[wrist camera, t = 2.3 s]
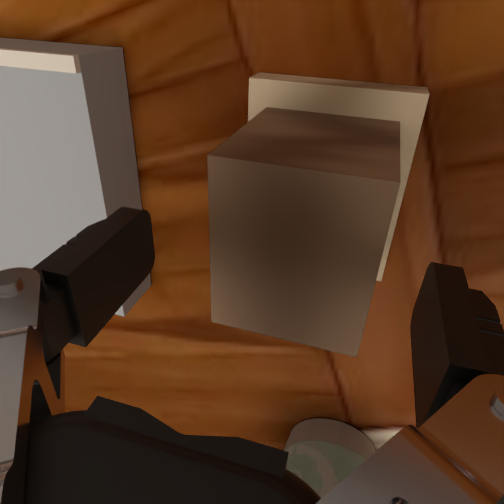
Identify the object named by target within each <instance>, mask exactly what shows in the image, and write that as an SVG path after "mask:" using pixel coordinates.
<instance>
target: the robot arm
mask: <svg viewBox="0 0 504 504" xmlns="http://www.w3.org/2000/svg"><path fill="white" fill-rule="evenodd" d="M154 259H155V252H154V243H153V234H152V225H151V217H150V214H149V213H148V211H146V210H140V209H135V208H129V207H120V208H119V209H118V210H116V211H115V212H114V213H113V214H111V215H110V216H109V217H107V218H106V219H103V220H101V221H99V222H96V223H94V224H91V225H89V226H87V227H86V228H84V229H83V230H82V231H80V232H79V233H78V234H77V235H76V237H73V238H71V239H70V240H69V241H67V242H66V245H65V244H63V245H62V246H61V247H59V248H58V249H57V250H56V251H54V252H53V253H52V254H50V255H49V256H48V257H46V258H45V259H44V260H42V261H41V262H40V263H39V264H37V265H36V266H35V267H33V268H32V269H31V268H25V267H16V268H9V269H5V270H1V271H0V504H504V330H503V327H502V324H500V318H499V315H498V313H497V310H496V307H495V305H494V304H493V303H492V302H491V301H490V300H489V298H488V297H487V296H486V295H485V294H484V293H483V292H482V291H479V290H474V289H469V288H468V284H467V280H466V277H465V273H464V270H463V268H462V267H456V266H450V265H445V264H439V263H434V262H431V263H430V264H429V266H428V268H427V271H426V274H425V277H424V280H423V283H422V286H421V289H420V291H419V294H418V297H417V300H416V303H415V306H414V309H413V314H412V319H411V347H412V363H413V379H414V395H415V411H416V427H417V429H416V428H415V427H414V426H412V425H408V426H406V427H405V428H403V429H402V430H400V431H399V432H398V433H397V434H396V435H395V436H393V437H392V438H391V439H390V440H389V441H388V442H386V443H385V444H384V445H383V446H382V447H381V448H379V449H378V450H377V451H376V452H375V453H374V454H373V455H371V456H370V457H369V458H368V459H367V460H366V461H364V462H363V463H362V464H361V465H360V466H359V467H358V468H356V469H355V470H354V471H353V472H352V473H351V474H349V475H348V476H347V477H346V478H345V479H344V480H342V481H341V482H340V483H339V484H338V485H337V486H336V487H334V488H333V489H332V490H331V491H330V492H329V493H327V494H326V495H325V496H324V497H323V498H322V499H321V497H320V496H319V495H318V494H317V493H316V492H315V491H314V490H313V489H312V488H311V487H310V486H309V485H308V484H307V483H306V482H304V481H303V480H302V479H301V478H299V477H298V476H297V475H295V474H294V473H292V472H290V471H289V470H287V469H286V467H287V461H288V454H289V452H287V451H283V450H280V449H276V448H273V447H270V446H266V445H263V444H259V443H256V442H253V441H249V440H246V439H242V438H239V437H221V436H197V435H184V434H180V433H179V432H177V431H175V430H174V429H172V428H170V427H169V426H167V425H166V424H164V423H163V422H161V421H159V420H158V419H156V418H155V417H153V416H152V415H150V414H148V413H147V412H145V411H144V410H142V409H140V408H137V407H133V406H130V405H127V404H123V403H120V402H116V401H113V400H110V399H106V398H103V397H99V396H97V397H96V399H95V400H94V401H93V403H92V404H91V405H90V407H89V408H88V410H82V411H71V412H66V413H65V355H64V351H63V348H64V347H65V346H66V345H67V344H68V342H69V343H72V344H76V345H80V346H84V347H87V345H88V344H89V343H90V342H91V341H92V340H93V338H94V337H95V336H96V335H97V334H98V333H99V332H100V330H101V329H102V328H103V327H104V326H105V325H106V323H107V322H108V321H109V320H110V319H111V318H112V316H113V315H114V314H115V313H116V312H117V311H118V310H119V308H120V307H121V306H122V305H123V304H124V303H125V301H126V300H127V299H128V298H129V297H130V296H131V294H132V293H133V292H134V291H135V290H136V289H137V288H138V286H139V285H140V284H141V283H142V282H143V281H144V279H145V278H146V277H147V276H148V275H149V273H150V272H151V270H152V268H153V265H154Z"/></svg>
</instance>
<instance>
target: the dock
mask: <svg viewBox="0 0 504 504" xmlns="http://www.w3.org/2000/svg"><path fill="white" fill-rule="evenodd" d="M120 207H129V208H135V209H140V210H142V204H141V195H140V187H139V179H138V171H137V162H136V154H135V146H134V138H133V130H132V121H131V113H130V105H129V97H128V88H127V80H126V72H125V64H124V55H123V48H122V47H110V46H97V45H85V44H73V43H61V42H49V41H37V40H25V39H12V38H0V271H1V270H5V269H9V268H16V267H25V268H31V269H32V268H33V267H35V266H36V265H37V264H39V263H40V262H41V261H42V260H44V259H45V258H46V257H48V256H49V255H50V254H52V253H53V252H54V251H56V250H57V249H58V248H59V247H61V246H62V245H63V244H65V245H66V242H67V241H69V240H70V239H71V238H73V237H76V235H77V234H78V233H79V232H80V231H82V230H83V229H84V228H86V227H87V226H89V225H91V224H94V223H96V222H99V221H101V220H103V219H106V218H107V217H109V216H110V215H111V214H113V213H114V212H115V211H116V210H118V209H119V208H120ZM150 286H151V278H150V273H149V275H148V276H147V277H146V278H145V279H144V281H143V282H142V283H141V284H140V285H139V286H138V288H137V289H136V290H135V291H134V292H133V293H132V294H131V296H130V297H129V298H128V299H127V300H126V301H125V303H124V304H123V305H122V306H121V307H120V308H119V310H118V311H117V312H116V313H115V314H117V315H121V316H125V315H126V314H127V313H128V312H129V310H130V309H131V308H132V307H133V306H134V305H135V303H136V302H137V301H138V300H139V299H140V298H141V297H142V295H143V294H144V293H145V292H146V291H147V290H148V288H149V287H150Z"/></svg>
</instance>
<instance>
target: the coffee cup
mask: <svg viewBox="0 0 504 504" xmlns="http://www.w3.org/2000/svg"><path fill="white" fill-rule="evenodd" d="M284 451H287V452H289V454H288V461H287V467H286V469H287V470H289V471H290V472H292V473H294V474H295V475H297V476H298V477H299V478H301V479H302V480H303V481H304V482H306V483H307V484H308V485H309V486H310V487H311V488H312V489H313V490H314V491H315V492H316V493H317V494H318V495H319V496H320V497H321V499H322V498H323V497H324V496H325V495H326V494H327V493H329V492H330V491H331V490H332V489H333V488H334V487H336V486H337V485H338V484H339V483H340V482H341V481H342V480H344V479H345V478H346V477H347V476H348V475H349V474H351V473H352V472H353V471H354V470H355V469H356V468H358V467H359V466H360V465H361V464H362V463H363V462H364V461H366V460H367V459H368V458H369V457H370V456H371V455H373V454H374V453H375V452H376V450H375V447H374V445H373V444H372V442H371V441H370V440H369V439H368V438H367V437H366V436H365V435H364V434H363V433H362V432H360V431H359V430H357V429H356V428H354V427H352V426H350V425H348V424H345V423H343V422H340V421H336V420H332V419H325V418H315V419H308V420H305V421H302V422H300V423H298V424H297V425H296V426H294V428H293V429H292V431H291V433H290V435H289V438H288V441H287V443H286V446H285V448H284Z"/></svg>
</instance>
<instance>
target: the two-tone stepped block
mask: <svg viewBox="0 0 504 504" xmlns="http://www.w3.org/2000/svg"><path fill="white" fill-rule="evenodd" d="M429 95H430V94H429V91H428V88H427V87H420V86H408V85H397V84H386V83H375V82H363V81H352V80H341V79H329V78H318V77H307V76H296V75H284V74H273V73H262V72H259V73H257V74H255V75H253V76H251V77H250V78H249V99H248V123H246V124H245V125H244V126H243V127H241V128H240V129H239V130H238V131H237V132H235V133H234V134H233V135H232V136H230V137H229V138H228V139H227V140H225V141H224V142H223V143H222V144H221V145H219V146H218V147H217V148H216V149H214V150H213V151H212V152H211V153H209V154H208V155H207V158H208V198H209V238H210V278H211V318H212V322H214V323H218V324H222V325H227V326H231V327H235V328H239V329H243V330H247V331H251V332H255V333H259V334H263V335H267V336H272V337H276V338H280V339H284V340H288V341H292V342H296V343H300V344H304V345H308V346H312V347H317V348H321V349H325V350H329V351H333V352H337V353H341V354H345V355H349V356H353V357H357V354H358V351H359V347H360V343H361V339H362V335H363V331H364V327H365V323H366V319H367V315H368V311H369V307H370V303H371V299H372V295H373V291H374V287H375V283H376V280H377V281H381V280H382V276H383V272H384V268H385V264H386V261H387V257H388V253H389V249H390V245H391V241H392V237H393V234H394V230H395V226H396V222H397V218H398V214H399V210H400V207H401V203H402V199H403V195H404V191H405V187H406V183H407V180H408V176H409V172H410V168H411V164H412V160H413V156H414V153H415V149H416V145H417V141H418V137H419V133H420V129H421V126H422V122H423V118H424V114H425V110H426V106H427V102H428V99H429Z"/></svg>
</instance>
